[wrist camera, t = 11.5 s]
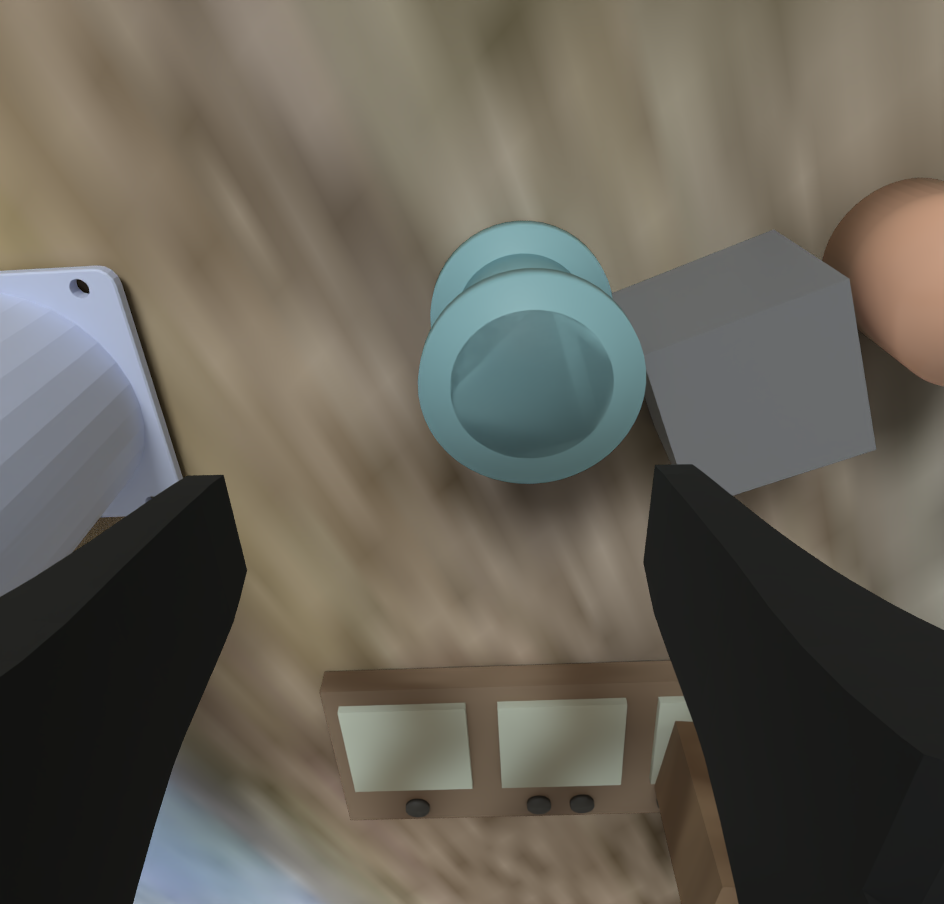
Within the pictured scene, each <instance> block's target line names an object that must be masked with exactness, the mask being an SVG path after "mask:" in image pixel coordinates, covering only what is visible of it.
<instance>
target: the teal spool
mask: <svg viewBox="0 0 944 904" xmlns="http://www.w3.org/2000/svg"><path fill="white" fill-rule="evenodd" d="M645 387H646V365H645V359H644V354H643V350H642V347H641V344H640V341H639V339H638V337H637V335H636V333H635V331H634V329H633V327H632V325H631V323H630V321H629V319H628V318H627V316H626V315H625V313H624V312H623V310H622V309H621V307H620V306H619V305H618V304H617V303H616V302H615V301H614V300H613V298H612V292H611V289H610V285H609V282H608V280H607V277H606V275H605V273H604V271H603V269H602V267H601V265H600V263H599V262H598V260H597V259H596V257H595V256H594V254H593V253H592V252H591V251H590V250H589V249H588V248H587V246H586V245H585V244H583V243H582V242H581V241H580V240H579V239H577V238H576V237H575V236H573V235H572V234H570V233H568V232H567V231H565V230H563V229H560V228H558V227H556V226H553V225H549V224H546V223H542V222H535V221H512V222H505V223H501V224H498V225H494V226H491V227H489V228H487V229H484V230H482V231H480V232H478V233H477V234H475V235H473V236H472V237H470V238H469V239H468V240H466V241H465V242H464V243H462V244H461V245H460V246H459V247H458V248H457V249H456V250H455V251H454V252H453V254H452V255H451V256H450V258H449V259H448V260H447V262H446V263H445V265H444V267H443V268H442V270H441V272H440V274H439V277H438V279H437V282H436V285H435V289H434V293H433V298H432V304H431V330H430V332H429V334H428V337H427V339H426V342H425V344H424V348H423V352H422V356H421V362H420V367H419V376H418V393H419V400H420V405H421V409H422V412H423V415H424V418H425V421H426V423H427V425H428V427H429V429H430V431H431V432H432V434H433V435H434V437H435V438H436V440H437V441H438V443H439V444H440V445H441V446H442V447H443V448H444V449H445V450H446V451H447V452H448V453H449V454H450V455H451V456H452V457H453V458H454V459H456V460H457V461H458V462H460V463H461V464H463V465H464V466H466V467H467V468H469V469H471V470H473V471H475V472H477V473H479V474H481V475H484V476H487V477H489V478H492V479H496V480H500V481H504V482H511V483H519V484H535V483H545V482H551V481H556V480H560V479H564V478H567V477H570V476H573V475H575V474H577V473H580V472H582V471H584V470H586V469H588V468H590V467H591V466H593V465H595V464H596V463H598V462H599V461H601V460H602V459H603V458H605V457H606V456H607V455H608V454H610V453H611V452H612V451H613V450H614V449H615V448H616V447H617V446H618V445H619V444H620V443H621V441H622V440H623V439H624V438H625V436H626V435H627V434H628V432H629V431H630V429H631V427H632V426H633V424H634V422H635V420H636V418H637V416H638V414H639V411H640V409H641V406H642V402H643V399H644V394H645Z"/></svg>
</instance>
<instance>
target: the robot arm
mask: <svg viewBox="0 0 944 904" xmlns="http://www.w3.org/2000/svg"><path fill="white" fill-rule="evenodd" d="M77 279H79V280H82V281H84V282H85V283H86V284H87V285H88V287H89V292H90V293H89V294H88V293H84V292H83V291H81V290H80V289H79V287H78V286H77ZM150 496H153V498H151V497H150ZM123 516H126V517H125V518H123V519H122V520H120V521H119V522H117V523H116V524H114V525H113V526H112V527H110V528H109V529H107V530H106V531H104V532H103V533H101V534H100V535H99V536H97V537H96V538H94V539H93V540H91V541H90V542H88V543H87V544H85V545H84V546H82V547H80V548H79V549H77V550H76V551H74V550H75V548H76V547H77V546H78V545H79V543H80V542H81V541H82V540H83V538H84V537H85V536H86V535H87V533H88V532H89V531H90V529H91V528H92V527H93V526H94V524H95V523H96V522H97V521H98V519H99V518H100V517H123ZM73 551H74V552H73ZM72 552H73V553H72ZM644 567H645V572H646V577H647V582H648V587H649V592H650V597H651V601H652V606H653V610H654V614H655V617H656V620H657V623H658V626H659V629H660V632H661V635H662V637H663V640H664V643H665V646H666V649H667V652H668V654H669V657H670V660H671V663H672V665H673V668H674V671H675V674H676V677H677V679H678V682H679V685H680V688H681V690H682V693H683V696H684V699H685V701H686V704H687V707H688V710H689V713H690V715H691V718H692V721H693V724H694V726H695V729H696V732H697V735H698V739H699V742H700V745H701V748H702V751H703V755H704V758H705V762H706V766H707V770H708V774H709V778H710V782H711V786H712V790H713V794H714V798H715V802H716V806H717V811H718V815H719V819H720V823H721V827H722V832H723V836H724V841H725V845H726V849H727V854H728V858H729V863H730V867H731V871H732V876H733V880H734V885H735V889H736V894H737V899H738V904H944V630H942V629H940V628H938V627H936V626H934V625H932V624H930V623H928V622H926V621H924V620H922V619H920V618H918V617H916V616H914V615H912V614H910V613H908V612H906V611H904V610H902V609H900V608H898V607H897V606H895V605H893V604H891V603H889V602H887V601H886V600H884V599H882V598H880V597H879V596H877V595H875V594H873V593H872V592H870V591H868V590H867V589H865V588H863V587H861V586H860V585H858V584H856V583H854V582H853V581H851V580H849V579H848V578H846V577H844V576H843V575H841V574H840V573H838V572H836V571H835V570H833V569H832V568H830V567H829V566H827V565H826V564H824V563H823V562H821V561H820V560H818V559H817V558H815V557H814V556H812V555H811V554H809V553H808V552H806V551H805V550H803V549H802V548H801V547H799V546H798V545H796V544H795V543H793V542H792V541H791V540H789V539H788V538H786V537H785V536H784V535H782V534H781V533H780V532H778V531H777V530H776V529H774V528H773V527H772V526H770V525H769V524H768V523H766V522H765V521H764V520H762V519H761V518H760V517H759V516H757V515H756V514H755V513H753V512H752V511H751V510H750V509H748V508H747V507H746V506H745V505H743V504H742V503H741V502H740V501H738V500H737V499H736V498H735V497H733V496H732V495H731V494H730V493H728V492H727V491H726V490H725V489H723V488H722V487H721V486H720V485H719V484H717V483H716V482H715V481H714V480H712V479H711V478H710V477H709V476H707V475H706V474H705V473H704V472H702V471H701V470H700V469H698V468H697V467H696V466H694V465H693V464H675V465H655V469H654V478H653V486H652V495H651V503H650V511H649V520H648V528H647V537H646V545H645V553H644ZM246 572H247V568H246V564H245V560H244V556H243V552H242V548H241V544H240V540H239V536H238V532H237V528H236V524H235V520H234V515H233V511H232V507H231V503H230V499H229V495H228V491H227V487H226V483H225V479H224V475H200V476H186V477H185V478H183V477H182V474H181V470H180V467H179V464H178V461H177V458H176V455H175V451H174V448H173V445H172V442H171V439H170V435H169V432H168V429H167V426H166V423H165V420H164V416H163V413H162V410H161V407H160V404H159V400H158V397H157V394H156V391H155V388H154V385H153V381H152V378H151V375H150V372H149V369H148V365H147V362H146V359H145V356H144V353H143V350H142V346H141V343H140V340H139V337H138V334H137V330H136V327H135V324H134V321H133V318H132V315H131V311H130V308H129V305H128V302H127V299H126V295H125V292H124V289H123V286H122V283H121V281H120V279H119V277H118V275H116V274H115V273H114V272H113V271H112V270H111V269H109V268H107V267H104V266H80V267H62V268H44V269H26V270H7V271H0V904H133V902H134V898H135V894H136V890H137V886H138V883H139V879H140V876H141V872H142V869H143V865H144V862H145V858H146V855H147V851H148V847H149V844H150V840H151V837H152V833H153V830H154V826H155V823H156V820H157V817H158V813H159V810H160V807H161V804H162V800H163V797H164V794H165V791H166V788H167V784H168V781H169V778H170V775H171V771H172V768H173V765H174V763H175V760H176V757H177V755H178V752H179V749H180V747H181V744H182V742H183V739H184V737H185V734H186V732H187V730H188V727H189V725H190V723H191V720H192V718H193V716H194V713H195V711H196V709H197V706H198V704H199V702H200V700H201V697H202V695H203V693H204V690H205V688H206V686H207V683H208V681H209V679H210V676H211V674H212V672H213V670H214V667H215V665H216V663H217V660H218V658H219V655H220V653H221V651H222V648H223V646H224V644H225V641H226V639H227V636H228V634H229V632H230V629H231V627H232V624H233V622H234V618H235V614H236V611H237V607H238V604H239V600H240V597H241V593H242V589H243V585H244V580H245V576H246Z"/></svg>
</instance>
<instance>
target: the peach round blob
mask: <svg viewBox="0 0 944 904" xmlns="http://www.w3.org/2000/svg"><path fill="white" fill-rule="evenodd" d="M822 261H823V262H825V263H826V264H828V265H829V266H831V267H832V268H834V269H835V270H837V271H838V272H840V273H841V274H843V275H845V276H846V277H848V278H849V279H850V285H851V292H852V298H853V305H854V311H855V317H856V324H857V329H858V330H859V331H860V332H862V333H863V334H864V335H865V336H867V337H868V338H869V339H871V340H872V341H873V342H874V343H876V344H877V345H878V346H880V347H881V348H882V349H883V350H885V351H886V352H887V353H889V354H890V355H891V356H892V357H894V358H895V359H896V360H898V361H899V362H900V363H901V364H903V365H904V366H905V367H907V368H908V369H909V370H910V371H912V372H913V373H914V374H916V375H917V376H919V377H920V378H922V379H923V380H926V381H928V382H930V383H933V384H936V385H940V386H944V181H941V180H938V179H932V178H912V179H906V180H902V181H898V182H894V183H892V184H889V185H886V186H884V187H882V188H880V189H878V190H876V191H874V192H873V193H871V194H870V195H868V196H867V197H865V198H864V199H863V200H861V201H860V202H859V203H858V204H856V205H855V206H854V207H853V208H852V209H851V210H850V211H849V212H848V213H847V214H846V216H845V217H844V218H843V219H842V220H841V222H840V223H839V224H838V226H837V227H836V229H835V230H834V232H833V234H832V236H831V238H830V239H829V242H828V244H827V247H826V249H825V252H824V256H823V260H822Z"/></svg>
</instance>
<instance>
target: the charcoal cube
mask: <svg viewBox="0 0 944 904" xmlns="http://www.w3.org/2000/svg"><path fill="white" fill-rule="evenodd" d="M612 298H613V300H614V301H615V302H616V303H617V304H618V305H619V306H620V307H621V309H622V310H623V312H624V313H625V315H626V316H627V318H628V319H629V321H630V323H631V325H632V327H633V329H634V331H635V333H636V335H637V337H638V339H639V341H640V344H641V347H642V350H643V354H644V359H645V365H646V387H645V394H644V397H645V400H646V403H647V406H648V409H649V412H650V415H651V418H652V421H653V424H654V427H655V429H656V431H657V433H658V436H659V438H660V440H661V442H662V445H663V447H664V449H665V451H666V453H667V456H668V458H669V460H670V462H671V465H675V464H693V465H694V466H696V467H697V468H698V469H700V470H701V471H702V472H704V473H705V474H706V475H707V476H709V477H710V478H711V479H712V480H714V481H715V482H716V483H717V484H719V485H720V486H721V487H722V488H723V489H725V490H726V491H727V492H728V493H730V494H731V495H732V496H733V495H736V494H739V493H742V492H745V491H749V490H752V489H755V488H758V487H761V486H764V485H767V484H770V483H774V482H777V481H780V480H783V479H786V478H789V477H792V476H795V475H798V474H802V473H805V472H808V471H811V470H814V469H817V468H820V467H823V466H827V465H830V464H833V463H836V462H839V461H842V460H845V459H848V458H851V457H855V456H858V455H861V454H864V453H867V452H870V451H873V450H876V445H875V438H874V432H873V425H872V419H871V413H870V406H869V400H868V394H867V387H866V381H865V375H864V368H863V362H862V355H861V349H860V343H859V336H858V330H857V324H856V317H855V311H854V305H853V298H852V292H851V285H850V279H849V278H848V277H846V276H845V275H843V274H841V273H840V272H838V271H837V270H835V269H834V268H832V267H831V266H829V265H828V264H826V263H825V262H823V261H821V260H820V259H818V258H817V257H815V256H814V255H812V254H811V253H809V252H808V251H806V250H805V249H803V248H802V247H800V246H798V245H797V244H795V243H794V242H792V241H791V240H789V239H788V238H786V237H785V236H783V235H782V234H780V233H779V232H777V231H775V230H771V231H769V232H766V233H764V234H761V235H759V236H756V237H753V238H751V239H748V240H746V241H743V242H741V243H738V244H736V245H733V246H731V247H728V248H726V249H723V250H720V251H718V252H715V253H713V254H710V255H708V256H705V257H703V258H700V259H698V260H695V261H693V262H690V263H687V264H685V265H682V266H680V267H677V268H675V269H672V270H670V271H667V272H665V273H662V274H659V275H657V276H654V277H652V278H649V279H647V280H644V281H642V282H639V283H637V284H634V285H632V286H629V287H626V288H624V289H621V290H619V291H616V292H614V293H612Z"/></svg>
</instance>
